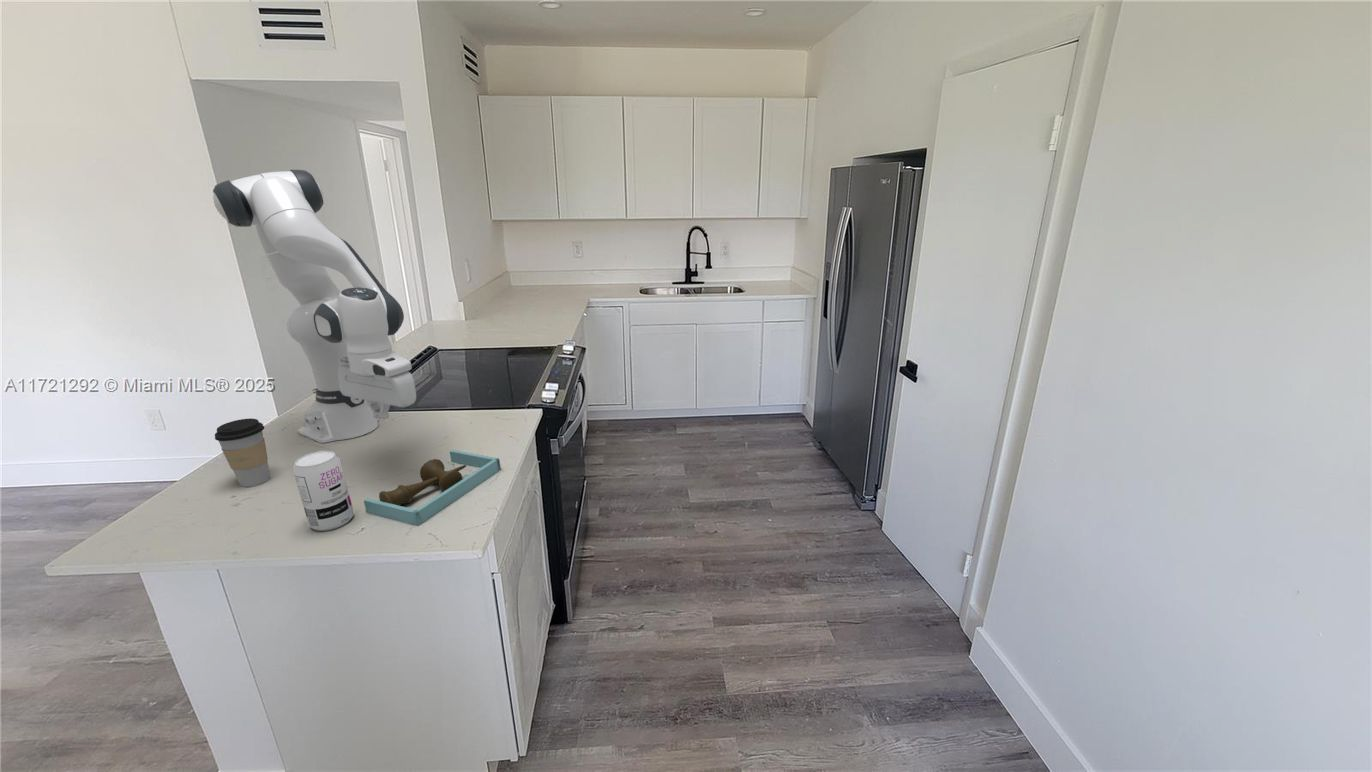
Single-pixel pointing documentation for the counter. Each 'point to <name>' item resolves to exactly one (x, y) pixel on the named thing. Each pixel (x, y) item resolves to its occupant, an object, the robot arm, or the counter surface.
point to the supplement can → (323, 490)
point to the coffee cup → (245, 450)
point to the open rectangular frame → (444, 499)
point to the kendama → (424, 482)
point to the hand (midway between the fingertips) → (381, 418)
